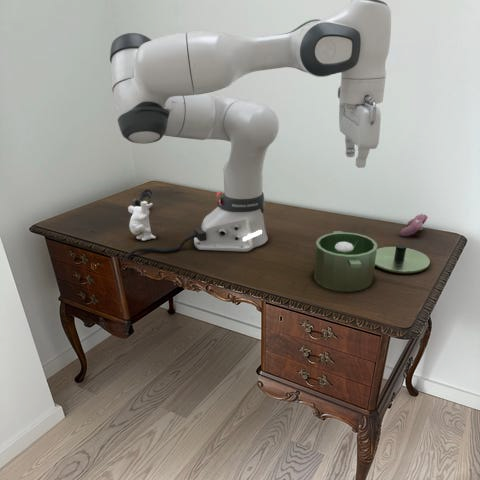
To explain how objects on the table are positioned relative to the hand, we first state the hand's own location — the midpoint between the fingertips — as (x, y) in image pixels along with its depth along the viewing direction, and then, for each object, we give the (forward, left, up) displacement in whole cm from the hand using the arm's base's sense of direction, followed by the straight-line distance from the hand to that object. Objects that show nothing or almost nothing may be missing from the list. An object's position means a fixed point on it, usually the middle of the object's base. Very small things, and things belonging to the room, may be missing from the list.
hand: (354, 161), depth 104 cm
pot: (0, 0, -29) cm, 29 cm away
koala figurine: (-55, +32, -29) cm, 70 cm away
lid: (+17, +8, -28) cm, 34 cm away
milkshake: (0, 0, -29) cm, 29 cm away
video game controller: (+28, +28, -29) cm, 49 cm away
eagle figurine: (-59, +60, -29) cm, 89 cm away
